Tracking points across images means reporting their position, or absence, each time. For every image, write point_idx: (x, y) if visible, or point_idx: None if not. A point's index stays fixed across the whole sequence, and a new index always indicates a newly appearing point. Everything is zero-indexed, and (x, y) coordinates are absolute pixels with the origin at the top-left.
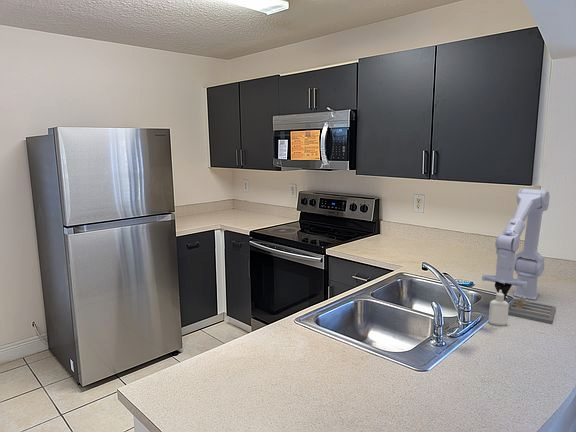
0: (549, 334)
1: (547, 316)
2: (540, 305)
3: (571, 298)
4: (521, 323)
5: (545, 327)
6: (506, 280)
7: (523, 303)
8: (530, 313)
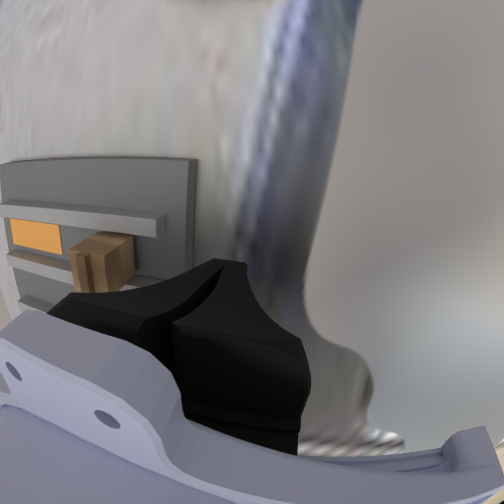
0: (26, 32)
1: (9, 201)
2: None
3: None
4: (108, 58)
5: (26, 98)
6: (12, 418)
7: None
8: (62, 205)
